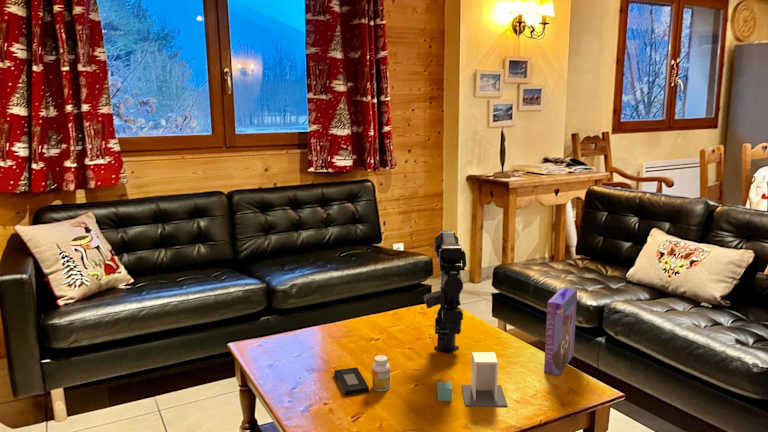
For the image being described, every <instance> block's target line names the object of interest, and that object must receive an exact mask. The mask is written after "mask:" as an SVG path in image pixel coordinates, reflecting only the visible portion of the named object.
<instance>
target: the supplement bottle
mask: <svg viewBox="0 0 768 432" xmlns="http://www.w3.org/2000/svg"><path fill="white" fill-rule="evenodd" d="M388 361H389V359H388V356H386V355H383V354H380V355H376V356H375V357H374V363H373V364H372V367H371V370H372V371H371V374H372V381H371V382H372V385H371V386H372V389H373V390H374V391H377V392H386V391H388V390H390V388H391V365H390V363H388Z"/></svg>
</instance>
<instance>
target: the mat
mask: <svg viewBox="0 0 768 432" xmlns="http://www.w3.org/2000/svg"><path fill="white" fill-rule="evenodd" d="M461 390H462V394H463V395H462V397H463V402H464V405H465V407H491V408H493V407H497V408H498V407H499V408H502V407H505V408H508V403H507V399H506V396H505V393H504V390H503V386H502V385H501V384H497V401H495V399H494V396H493V392H492V390H476V400H474V399H473V395H472V390H471V384H461Z"/></svg>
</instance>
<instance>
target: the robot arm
mask: <svg viewBox="0 0 768 432" xmlns="http://www.w3.org/2000/svg"><path fill="white" fill-rule="evenodd" d="M461 245H462V244H460V243H459V237H458V236H457V235H456V232H455V231H454V230H442V231H440V232H439V234H438V235H437V236H435V237H434V243H433V246H434V248H433V251H434V253H435V255H436V257H435V258H436V259H437V261H438V262H439V263H438V264H439V271H440V289H439V290H436V291H432V292H429V293H427V294H425V295H423V301H424V303H425V307H426V308H427V309H431V308H433V307H436V306H439V309H438V311H437V312H436V316H435V317H434V334H435V335H437V339H436V341H437V342H436V343H437V344H436V346H433V349H434V350H437V351H440V352H442V353H446V354H450V353H452V352H454V351H456V350H458V349H459V348H460V347H459V345H456V337H457V336H456V335H460V334H461V333H462V331H461V330H462V322H463V321H462V320H464V313H463V309H462V308H461V307H460V306H461V300H460V299H461V297H460V296H461V293H462V291H463V289H464V282H463V280H462V277H461V271H465V269H466V268H467V256H466V255H467V254H466V252H465V250H464V249H462V246H461Z"/></svg>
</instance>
